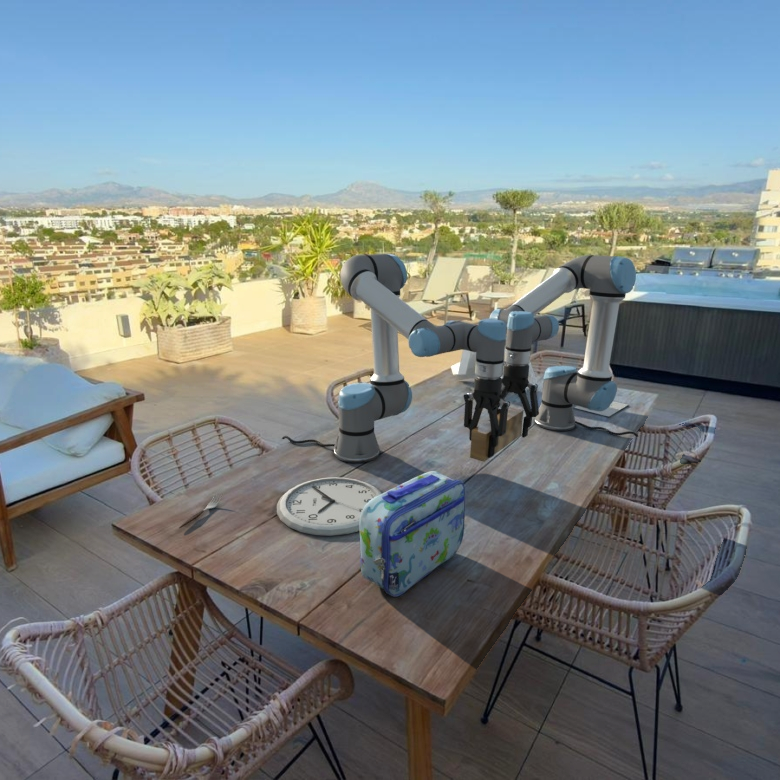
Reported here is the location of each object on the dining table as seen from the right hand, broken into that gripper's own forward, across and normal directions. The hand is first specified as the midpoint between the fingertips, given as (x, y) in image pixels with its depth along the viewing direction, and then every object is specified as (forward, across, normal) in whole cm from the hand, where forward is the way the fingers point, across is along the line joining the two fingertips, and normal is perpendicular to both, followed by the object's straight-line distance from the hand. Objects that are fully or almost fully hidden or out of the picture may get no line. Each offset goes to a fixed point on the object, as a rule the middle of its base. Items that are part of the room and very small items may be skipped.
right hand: (510, 432), depth 165 cm
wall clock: (+12, -27, -53) cm, 61 cm away
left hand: (+1, 0, -19) cm, 19 cm away
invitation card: (+12, +7, +80) cm, 82 cm away
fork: (+12, -50, -78) cm, 94 cm away
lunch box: (+12, +6, -63) cm, 64 cm away
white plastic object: (+12, -44, +76) cm, 88 cm away
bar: (+2, 0, -9) cm, 9 cm away
